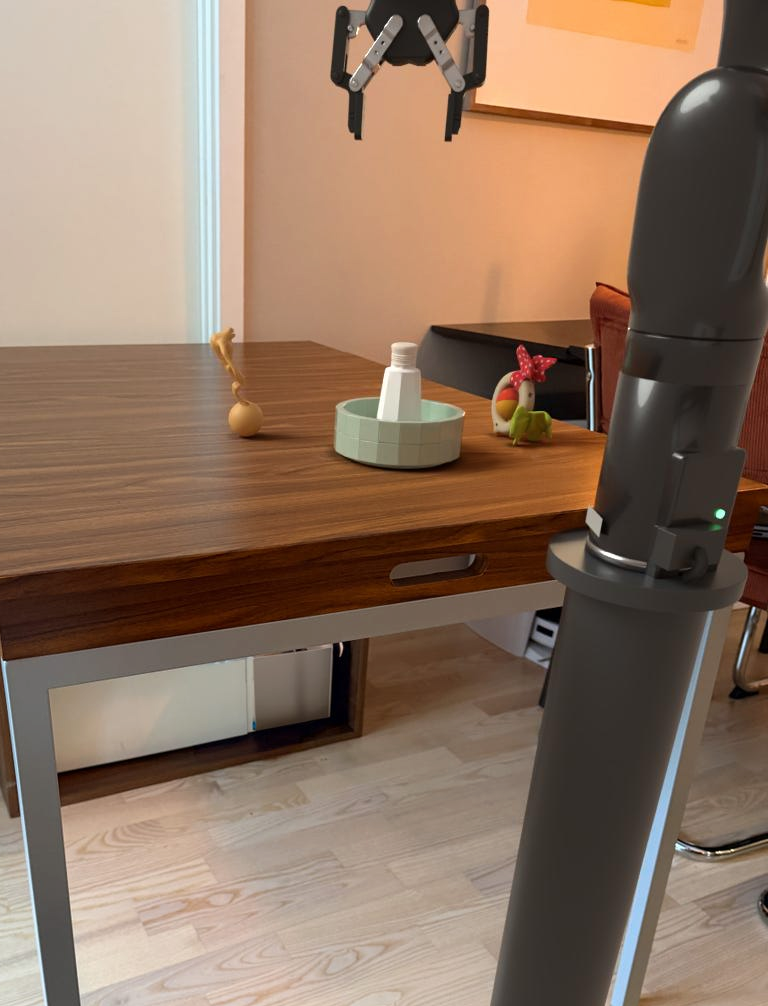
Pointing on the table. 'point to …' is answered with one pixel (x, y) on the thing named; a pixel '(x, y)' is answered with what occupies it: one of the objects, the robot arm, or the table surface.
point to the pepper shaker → (401, 385)
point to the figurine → (236, 387)
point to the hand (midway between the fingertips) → (403, 140)
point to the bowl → (398, 435)
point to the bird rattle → (521, 400)
